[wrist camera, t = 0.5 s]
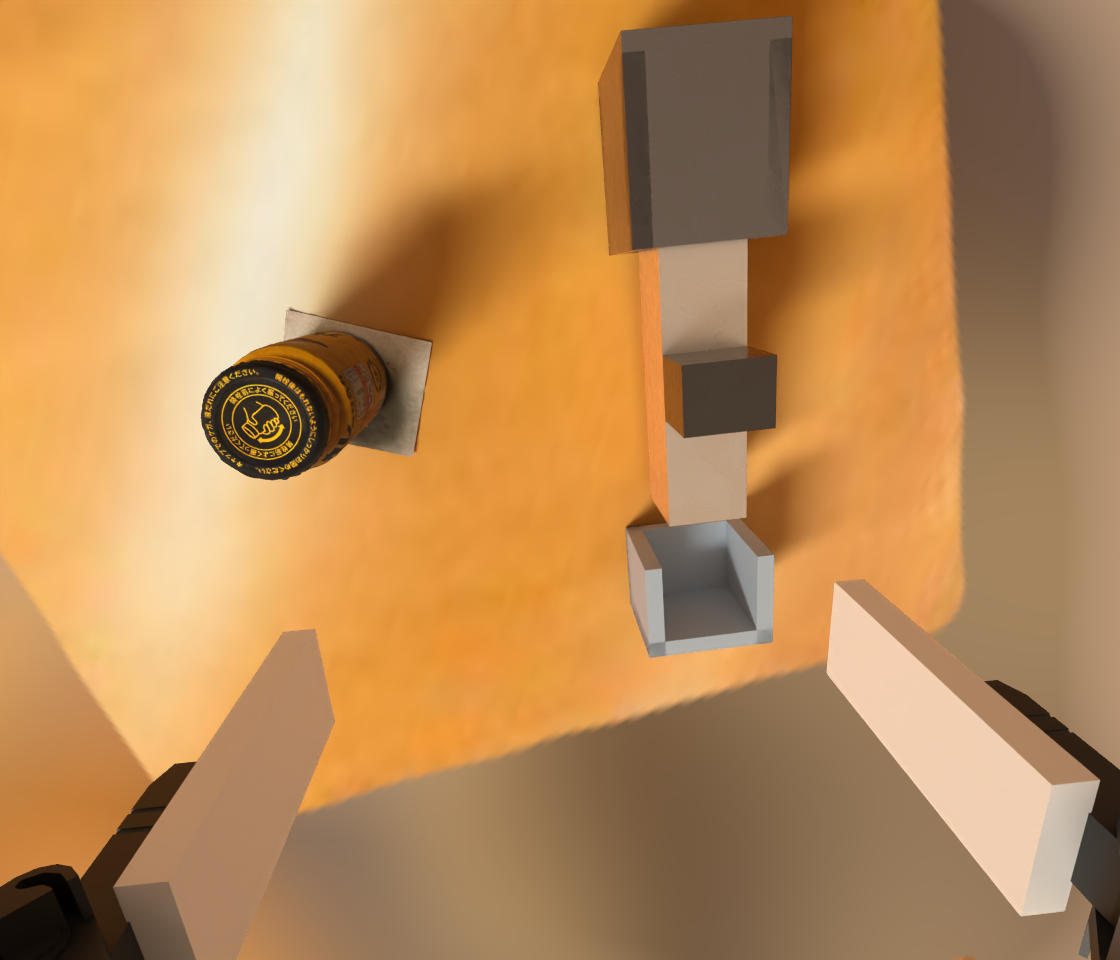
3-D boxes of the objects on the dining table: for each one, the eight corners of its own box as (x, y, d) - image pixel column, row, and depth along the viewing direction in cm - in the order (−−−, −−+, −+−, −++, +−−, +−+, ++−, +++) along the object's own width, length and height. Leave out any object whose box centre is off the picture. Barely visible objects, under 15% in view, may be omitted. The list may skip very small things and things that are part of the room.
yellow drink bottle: (287, 309, 35) (180, 324, 24) (432, 342, 37) (395, 371, 25) (276, 428, 38) (173, 493, 26) (413, 455, 39) (372, 529, 27)
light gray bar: (631, 112, 32) (672, 55, 24) (714, 105, 33) (782, 45, 24) (650, 496, 40) (687, 555, 31) (718, 488, 40) (773, 545, 31)
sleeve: (598, 83, 33) (620, 30, 26) (733, 70, 33) (792, 16, 26) (609, 255, 36) (632, 250, 29) (734, 242, 36) (787, 234, 29)
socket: (625, 527, 41) (644, 570, 35) (736, 514, 42) (774, 554, 36) (630, 604, 43) (649, 657, 37) (736, 591, 44) (772, 642, 38)
